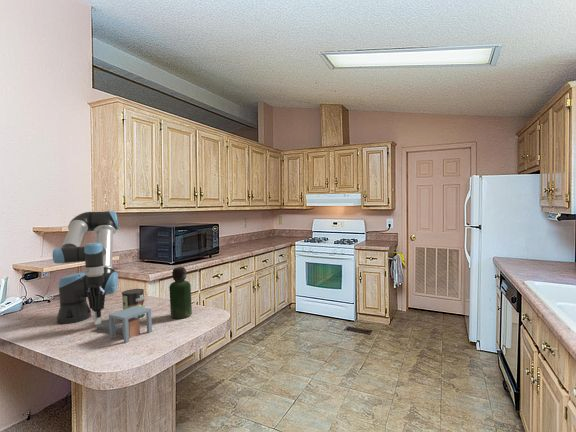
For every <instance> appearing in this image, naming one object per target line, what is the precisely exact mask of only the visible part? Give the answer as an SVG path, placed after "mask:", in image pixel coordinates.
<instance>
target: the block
mask: <svg viewBox="0 0 576 432" xmlns="http://www.w3.org/2000/svg"><path fill="white" fill-rule="evenodd" d="M140 322H141V321H140V320H139V318H134V317H133V318H130V319H128V325H129V339H131V338H134V337H136V336H138V335H140V334H141V326H140V325H141V323H140ZM121 324H122V330H123V320H121ZM122 337H124V335H123V334H122Z"/></svg>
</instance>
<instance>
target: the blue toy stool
mask: <svg viewBox="0 0 576 432" xmlns="http://www.w3.org/2000/svg"><path fill="white" fill-rule="evenodd" d="M144 313H145V319H146V332H147V333H148V334H150V333H152V332H153V325H152V324H153V323H152V322H153V321H152V308H148V307H145V308H143V307H138V306H134V307H131V308H128V309H125V310H123V309H121V310H119V311H116V312H112V313H110V314H108V323H109V328H110V332H109V339H111V340H113V339H116V333H115V324H116V322H115V319H117V320H121V321H123V334H122V336H123V335H124V336H123V342H124V343H128V342H130V338H129V325H128V319H130V318H133V317H134V318H138V316H139V315H141V314H144Z"/></svg>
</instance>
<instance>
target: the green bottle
mask: <svg viewBox="0 0 576 432" xmlns="http://www.w3.org/2000/svg"><path fill="white" fill-rule="evenodd" d="M171 273H172V278H173V280H174V281H173V282H172V283H170V284H169V287H168V288H169V289H168V291H169V303H170V304H169V306H170V317H171V318H172V319H175V320H177V319H179V320H181V319H185V318H188V317H190V316H191V315H193V312H192V311H193V310H192V292H191V290H192V288H191V286H192V285H191V283H190V282H189V281H188V280H186V279H187V270H186V268H185V267H183V266H177V267H174V268H173V269H172V272H171Z"/></svg>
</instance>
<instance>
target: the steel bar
mask: <svg viewBox="0 0 576 432" xmlns="http://www.w3.org/2000/svg"><path fill="white" fill-rule="evenodd" d="M95 327H96V331H98V330H99V331H100V332H107V333H110V328H109V322H105V321H103V322H102V321H101V323H99V324H97V325H96V326H95ZM99 331H98V332H99ZM115 334H122V335H123V330H122V323H115Z"/></svg>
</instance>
